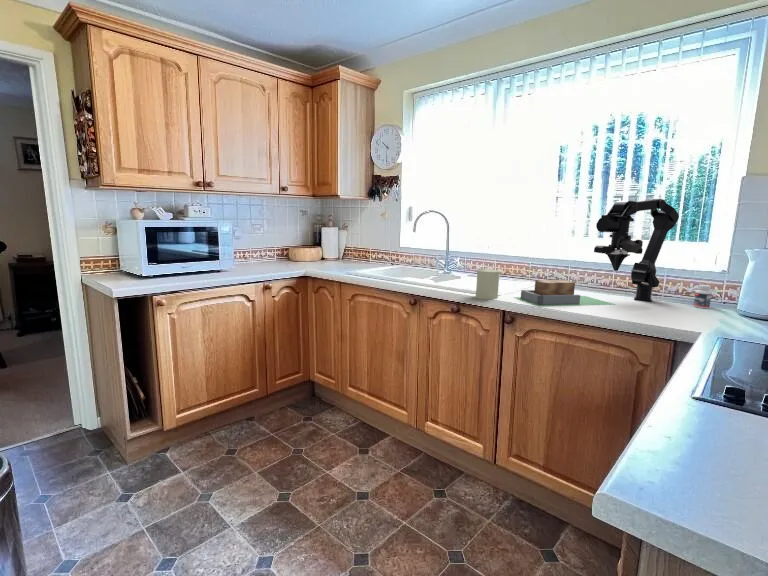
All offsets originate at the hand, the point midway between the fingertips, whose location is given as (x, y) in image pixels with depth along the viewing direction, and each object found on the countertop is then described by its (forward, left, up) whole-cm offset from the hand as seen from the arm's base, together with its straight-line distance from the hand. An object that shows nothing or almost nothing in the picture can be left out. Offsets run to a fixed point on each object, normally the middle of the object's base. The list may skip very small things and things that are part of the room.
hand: (615, 270), depth 174 cm
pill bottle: (-11, +31, -13) cm, 35 cm away
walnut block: (+17, -20, -12) cm, 29 cm away
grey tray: (+19, -22, -12) cm, 31 cm away
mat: (+14, -17, -13) cm, 25 cm away
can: (+26, -45, -13) cm, 54 cm away
